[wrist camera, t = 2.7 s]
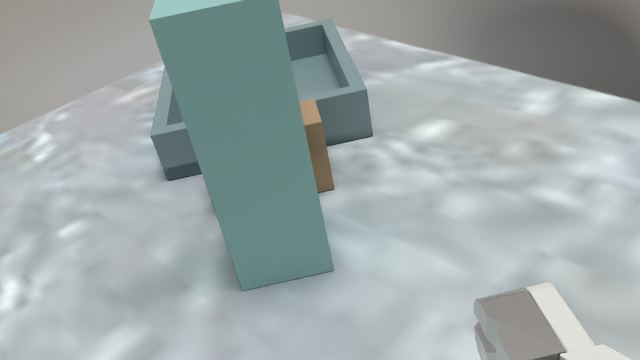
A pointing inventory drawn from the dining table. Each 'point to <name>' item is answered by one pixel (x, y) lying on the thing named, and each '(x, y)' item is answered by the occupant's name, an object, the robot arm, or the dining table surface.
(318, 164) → the brown rectangular block
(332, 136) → the tray
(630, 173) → the dining table surface
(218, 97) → the peg
